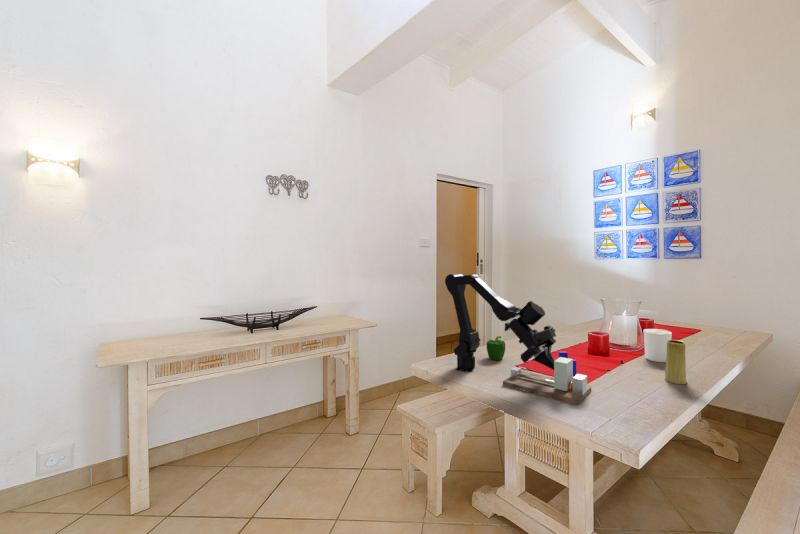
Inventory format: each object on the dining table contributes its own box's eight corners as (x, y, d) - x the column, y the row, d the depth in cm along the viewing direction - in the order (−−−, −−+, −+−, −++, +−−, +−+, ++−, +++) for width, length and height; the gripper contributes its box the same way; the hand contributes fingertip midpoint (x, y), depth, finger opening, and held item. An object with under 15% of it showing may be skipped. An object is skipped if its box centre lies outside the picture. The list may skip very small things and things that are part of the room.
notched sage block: (554, 388, 116) (554, 361, 116) (560, 383, 120) (560, 356, 120) (567, 391, 113) (566, 363, 113) (572, 385, 118) (572, 359, 117)
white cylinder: (677, 362, 143) (678, 333, 142) (653, 363, 143) (653, 334, 143) (660, 355, 153) (660, 328, 152) (637, 355, 153) (637, 329, 152)
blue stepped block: (554, 365, 144) (554, 351, 144) (566, 366, 143) (566, 351, 143) (563, 376, 132) (563, 360, 132) (576, 376, 131) (576, 360, 131)
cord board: (502, 385, 124) (502, 380, 124) (519, 374, 135) (519, 370, 135) (578, 404, 107) (578, 399, 107) (591, 390, 117) (591, 386, 117)
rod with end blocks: (509, 380, 127) (509, 364, 127) (515, 376, 131) (515, 361, 131) (582, 397, 111) (582, 380, 110) (587, 393, 114) (587, 375, 114)
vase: (682, 379, 125) (682, 340, 125) (689, 385, 120) (690, 344, 119) (661, 377, 127) (662, 339, 127) (668, 383, 122) (669, 343, 121)
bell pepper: (489, 361, 151) (489, 339, 150) (484, 356, 159) (484, 334, 158) (508, 361, 151) (508, 338, 150) (502, 355, 159) (502, 334, 159)
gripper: (529, 323, 114) (564, 363, 107) (550, 315, 128) (583, 349, 121) (507, 343, 120) (539, 382, 113) (529, 333, 133) (559, 367, 126)
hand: (556, 369), depth 118 cm, fingers closed, pressing on notched sage block
